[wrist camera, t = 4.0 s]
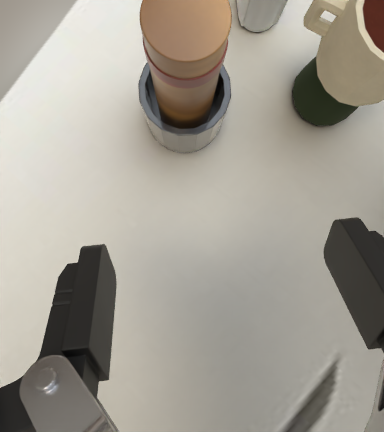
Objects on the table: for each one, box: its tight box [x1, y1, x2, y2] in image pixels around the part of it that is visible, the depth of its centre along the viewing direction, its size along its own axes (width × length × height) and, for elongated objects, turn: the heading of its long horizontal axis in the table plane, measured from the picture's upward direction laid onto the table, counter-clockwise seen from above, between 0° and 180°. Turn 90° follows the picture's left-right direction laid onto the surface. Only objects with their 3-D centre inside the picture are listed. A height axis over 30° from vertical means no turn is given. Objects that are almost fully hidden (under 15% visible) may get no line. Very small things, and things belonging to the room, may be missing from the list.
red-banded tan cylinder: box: [140, 0, 232, 129], centre depth 24 cm, size 5×5×15 cm
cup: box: [139, 63, 231, 153], centre depth 29 cm, size 7×7×6 cm
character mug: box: [292, 0, 384, 125], centre depth 26 cm, size 11×7×13 cm, turn 64°
